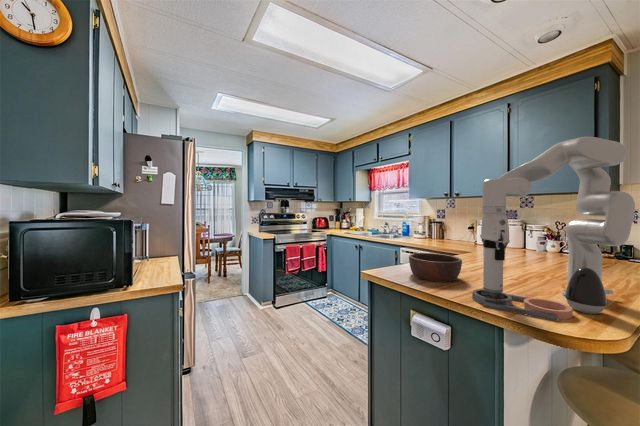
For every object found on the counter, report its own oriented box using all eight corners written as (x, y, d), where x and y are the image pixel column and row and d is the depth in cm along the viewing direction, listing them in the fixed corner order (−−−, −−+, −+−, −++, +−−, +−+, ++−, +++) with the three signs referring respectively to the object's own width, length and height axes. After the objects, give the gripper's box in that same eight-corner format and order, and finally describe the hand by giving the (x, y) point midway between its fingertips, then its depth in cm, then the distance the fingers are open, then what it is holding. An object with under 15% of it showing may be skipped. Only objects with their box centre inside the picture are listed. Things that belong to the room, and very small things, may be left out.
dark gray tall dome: (559, 308, 92) (560, 266, 92) (571, 303, 97) (572, 263, 97) (600, 319, 83) (602, 272, 83) (610, 313, 88) (612, 269, 88)
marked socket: (549, 305, 96) (550, 298, 95) (582, 319, 83) (583, 311, 83) (515, 304, 96) (515, 297, 96) (543, 318, 84) (543, 311, 84)
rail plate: (470, 303, 96) (470, 296, 96) (475, 292, 110) (475, 286, 109) (557, 321, 82) (558, 313, 82) (551, 305, 95) (551, 298, 95)
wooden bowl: (453, 272, 143) (454, 254, 142) (468, 286, 118) (469, 263, 118) (406, 269, 148) (406, 251, 148) (411, 281, 124) (411, 260, 124)
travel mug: (507, 293, 95) (507, 239, 95) (487, 292, 97) (487, 239, 96) (499, 288, 102) (499, 237, 101) (480, 287, 103) (480, 237, 102)
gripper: (521, 211, 90) (520, 263, 90) (489, 210, 107) (489, 254, 107) (498, 211, 90) (498, 263, 90) (471, 211, 107) (471, 254, 108)
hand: (493, 257), depth 99 cm, fingers closed on travel mug, 6 cm apart
